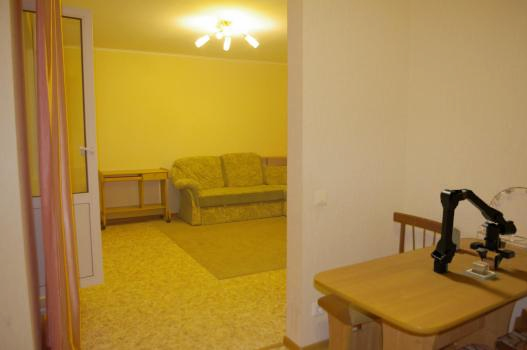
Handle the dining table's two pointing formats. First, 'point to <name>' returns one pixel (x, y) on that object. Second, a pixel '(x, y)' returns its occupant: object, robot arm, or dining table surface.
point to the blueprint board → (484, 278)
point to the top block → (490, 262)
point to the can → (456, 237)
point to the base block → (480, 268)
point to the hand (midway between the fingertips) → (490, 267)
